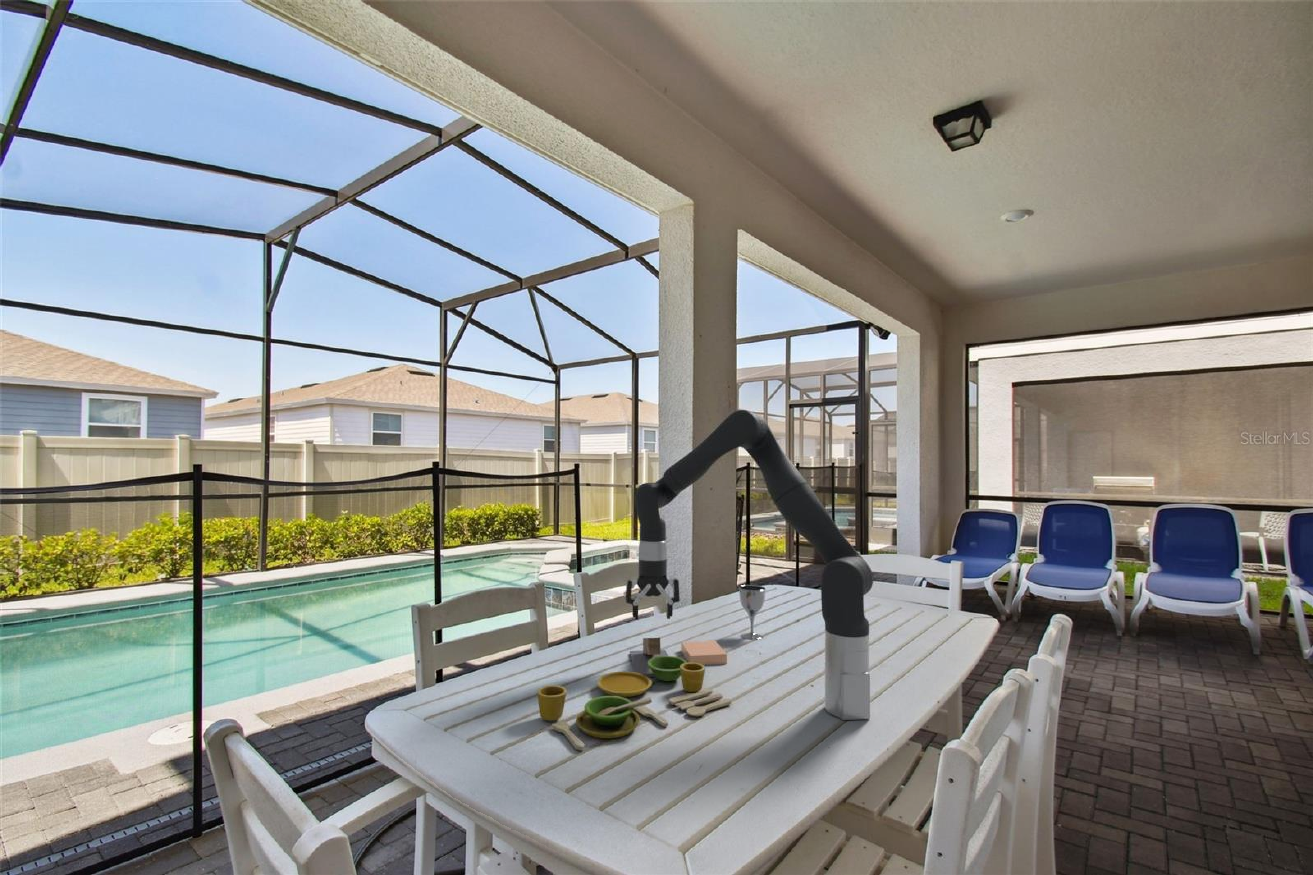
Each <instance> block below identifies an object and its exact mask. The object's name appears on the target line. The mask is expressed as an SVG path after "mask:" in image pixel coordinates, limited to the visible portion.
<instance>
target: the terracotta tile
mask: <svg viewBox="0 0 1313 875" xmlns="http://www.w3.org/2000/svg"><path fill="white" fill-rule="evenodd" d="M680 652H681V653H682V654H683V656H684V658H685V660H686V661H687V663H689V662H693V663H699V664H702V665H704V666H711V665H712V666H713V665H727V664H728V653H727V652H726V651H725V650H724V648H722V647H721V645H720V644H719V643H718V642H717V640H704V641H703V640H701V641H700V640H699V641H681V642H680Z"/></svg>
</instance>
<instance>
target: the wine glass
mask: <svg viewBox="0 0 1313 875" xmlns="http://www.w3.org/2000/svg"><path fill="white" fill-rule="evenodd" d="M738 593H739V601H740V605H741V607H742V608H743V609H744V611H745V612H746V614H747V615H748V617H749V621H750V632H744V633H741V634H740V636H739V637H741V638H742V639H745V640H749V641H750V640H752V641H759V640H762V639H764V635H762V634H760V633H755V632H754V621H755V617H756V615H757V614H758V612H760V611H761V609H762V608H763V606H764V604H765V599H766V587H765V586H762V585H757V584H744V585H740V586H739V592H738Z"/></svg>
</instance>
